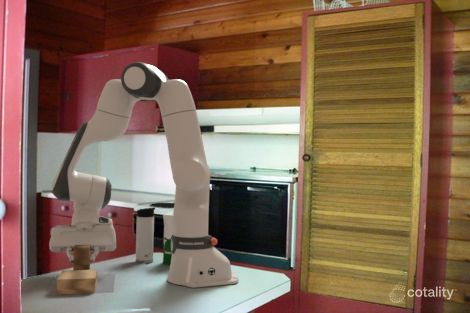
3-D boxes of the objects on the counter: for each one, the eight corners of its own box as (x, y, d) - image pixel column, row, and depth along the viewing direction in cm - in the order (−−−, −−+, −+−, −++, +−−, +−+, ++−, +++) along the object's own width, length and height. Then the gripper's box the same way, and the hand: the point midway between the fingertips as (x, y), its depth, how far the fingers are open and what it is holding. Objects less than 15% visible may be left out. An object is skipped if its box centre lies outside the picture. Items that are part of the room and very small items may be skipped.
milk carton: (191, 261, 173) (192, 207, 173) (181, 266, 165) (182, 210, 165) (170, 259, 176) (171, 206, 176) (159, 264, 167) (160, 208, 167)
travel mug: (150, 264, 167) (151, 208, 167) (132, 263, 168) (134, 207, 168) (156, 260, 173) (157, 206, 173) (139, 259, 174) (141, 206, 174)
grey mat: (115, 275, 150) (115, 274, 150) (113, 294, 130) (113, 291, 130) (56, 277, 146) (56, 275, 146) (44, 296, 126) (44, 294, 126)
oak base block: (97, 282, 139) (97, 269, 139) (94, 292, 129) (95, 278, 129) (61, 284, 137) (62, 270, 137) (56, 294, 127) (56, 279, 127)
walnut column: (89, 276, 146) (90, 244, 146) (88, 279, 142) (89, 247, 142) (74, 276, 145) (75, 244, 145) (73, 280, 141) (73, 247, 141)
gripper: (50, 219, 148) (44, 256, 139) (117, 219, 153) (115, 255, 143) (52, 231, 153) (46, 268, 143) (117, 230, 157) (115, 266, 148)
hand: (81, 261), depth 143 cm, fingers closed on walnut column, 4 cm apart
